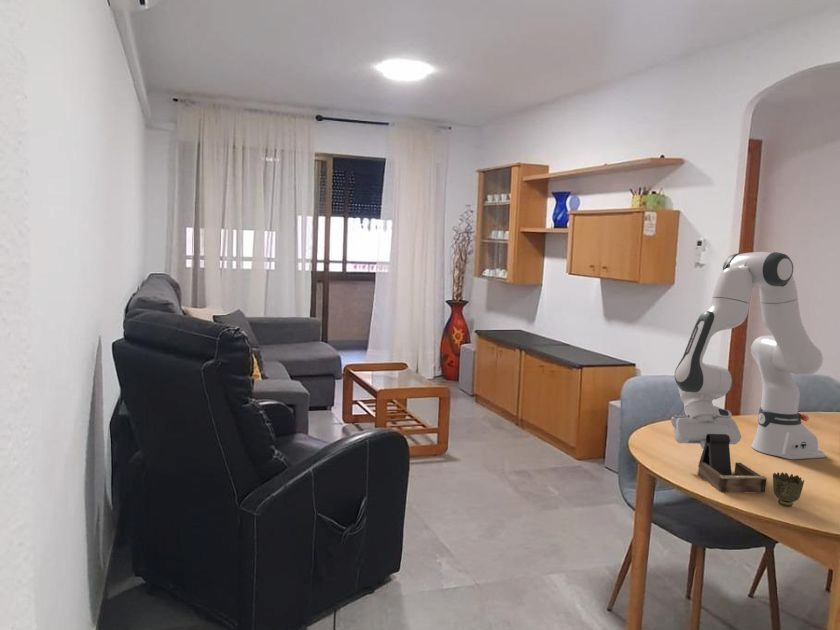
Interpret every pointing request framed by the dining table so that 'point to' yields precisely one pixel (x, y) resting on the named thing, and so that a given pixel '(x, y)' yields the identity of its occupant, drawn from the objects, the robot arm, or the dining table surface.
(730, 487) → the frame
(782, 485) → the cup
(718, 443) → the phone stand
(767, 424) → the robot arm
